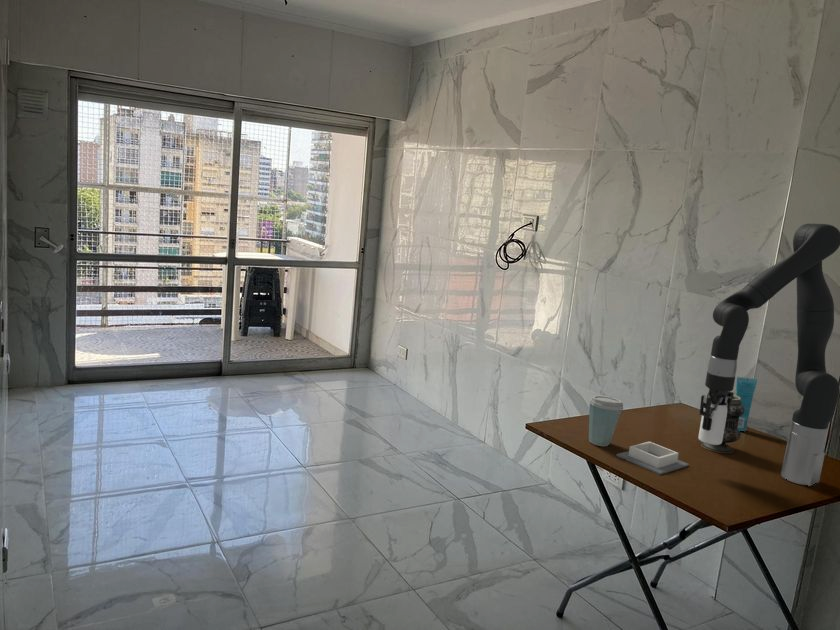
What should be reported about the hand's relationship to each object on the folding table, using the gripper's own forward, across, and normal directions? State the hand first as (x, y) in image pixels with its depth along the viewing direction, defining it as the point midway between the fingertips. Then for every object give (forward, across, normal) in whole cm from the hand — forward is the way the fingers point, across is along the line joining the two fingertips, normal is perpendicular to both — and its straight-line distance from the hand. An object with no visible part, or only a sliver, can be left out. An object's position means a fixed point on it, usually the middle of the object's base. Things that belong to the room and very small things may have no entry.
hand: (712, 427), depth 198 cm
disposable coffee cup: (+13, -11, +30) cm, 34 cm away
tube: (+14, +51, +16) cm, 55 cm away
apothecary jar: (+14, +24, +9) cm, 29 cm away
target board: (+13, -8, +12) cm, 20 cm away
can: (+4, 0, 0) cm, 4 cm away
